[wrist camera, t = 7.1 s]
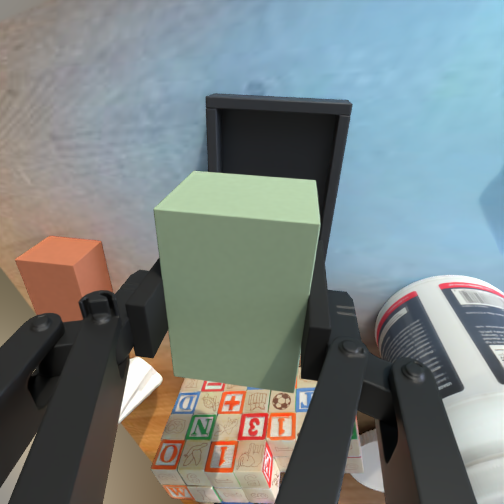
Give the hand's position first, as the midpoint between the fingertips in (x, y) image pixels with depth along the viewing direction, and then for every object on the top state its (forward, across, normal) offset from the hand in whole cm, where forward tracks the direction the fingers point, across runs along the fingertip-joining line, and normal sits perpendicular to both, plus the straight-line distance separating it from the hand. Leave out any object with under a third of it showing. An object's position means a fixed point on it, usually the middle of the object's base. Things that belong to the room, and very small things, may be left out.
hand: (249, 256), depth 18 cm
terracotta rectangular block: (+13, -21, -12) cm, 28 cm away
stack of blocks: (+13, +1, -27) cm, 31 cm away
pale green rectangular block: (0, 0, 0) cm, 0 cm away
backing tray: (+13, 0, -4) cm, 14 cm away
